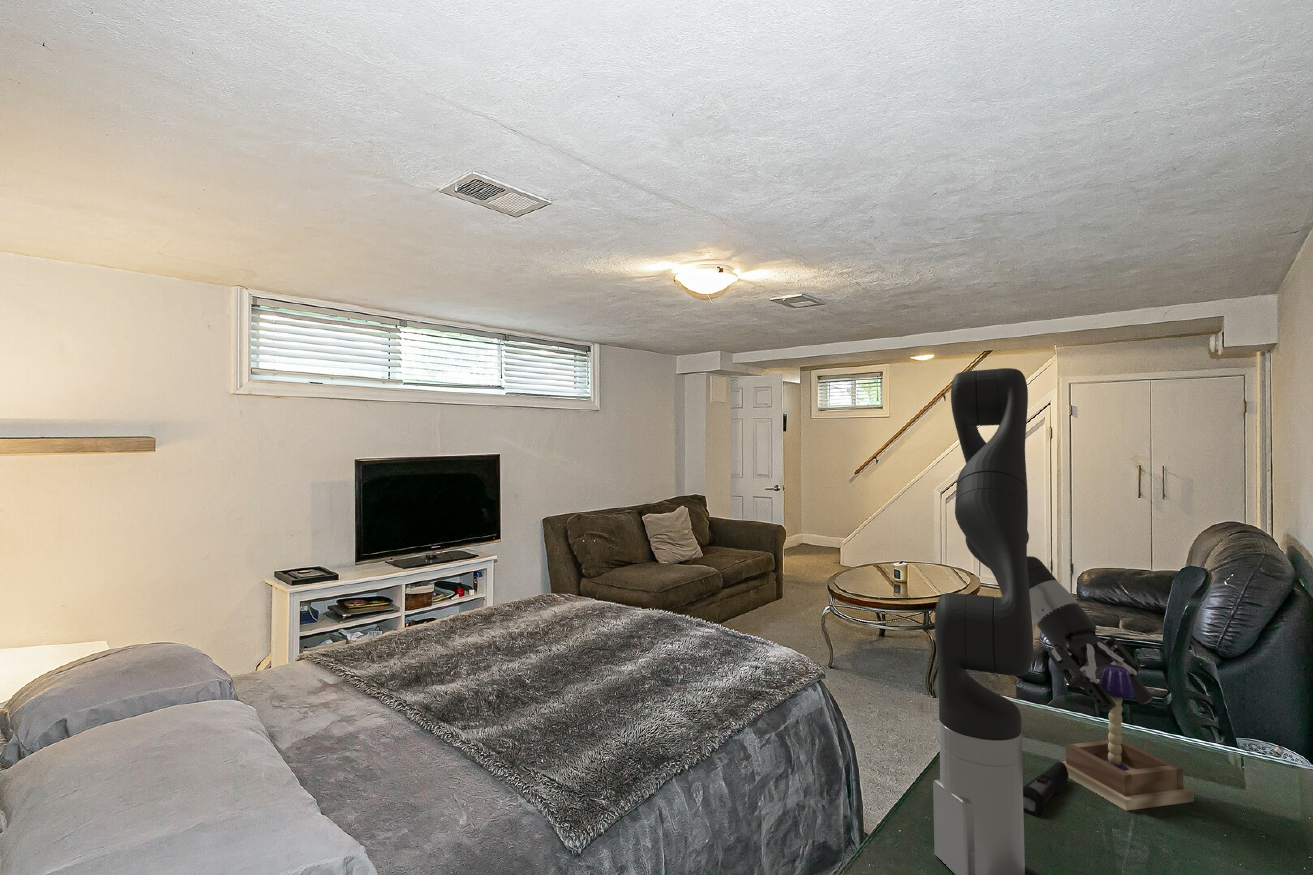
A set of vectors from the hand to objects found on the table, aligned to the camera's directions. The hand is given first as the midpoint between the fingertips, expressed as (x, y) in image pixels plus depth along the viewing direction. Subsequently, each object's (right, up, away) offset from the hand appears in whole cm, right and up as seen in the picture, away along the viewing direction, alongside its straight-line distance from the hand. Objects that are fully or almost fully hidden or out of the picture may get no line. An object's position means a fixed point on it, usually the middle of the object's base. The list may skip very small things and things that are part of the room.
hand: (1129, 705), depth 98 cm
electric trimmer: (-14, -13, -2) cm, 20 cm away
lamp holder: (0, -13, +1) cm, 13 cm away
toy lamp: (-1, -11, +1) cm, 12 cm away
